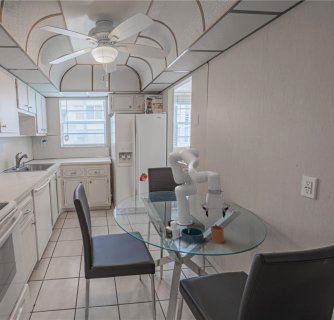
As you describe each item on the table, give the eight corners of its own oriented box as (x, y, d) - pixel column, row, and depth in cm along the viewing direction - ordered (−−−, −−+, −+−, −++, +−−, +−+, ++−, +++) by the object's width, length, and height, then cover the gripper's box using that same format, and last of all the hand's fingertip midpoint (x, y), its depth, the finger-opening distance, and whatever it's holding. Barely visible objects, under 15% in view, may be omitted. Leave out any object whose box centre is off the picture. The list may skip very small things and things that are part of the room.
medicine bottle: (166, 236, 153) (164, 220, 153) (173, 234, 156) (172, 218, 156) (172, 240, 147) (171, 223, 146) (180, 237, 150) (179, 221, 149)
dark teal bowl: (177, 239, 148) (176, 231, 148) (190, 233, 155) (190, 226, 155) (194, 246, 136) (193, 238, 136) (208, 239, 143) (207, 231, 143)
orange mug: (224, 243, 136) (223, 230, 135) (212, 243, 138) (211, 229, 138) (222, 236, 146) (221, 223, 145) (210, 236, 148) (209, 223, 148)
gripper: (228, 190, 139) (229, 215, 141) (199, 190, 145) (200, 214, 147) (230, 193, 132) (231, 219, 134) (200, 192, 138) (201, 218, 139)
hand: (215, 216), depth 140 cm, fingers open, 9 cm apart
